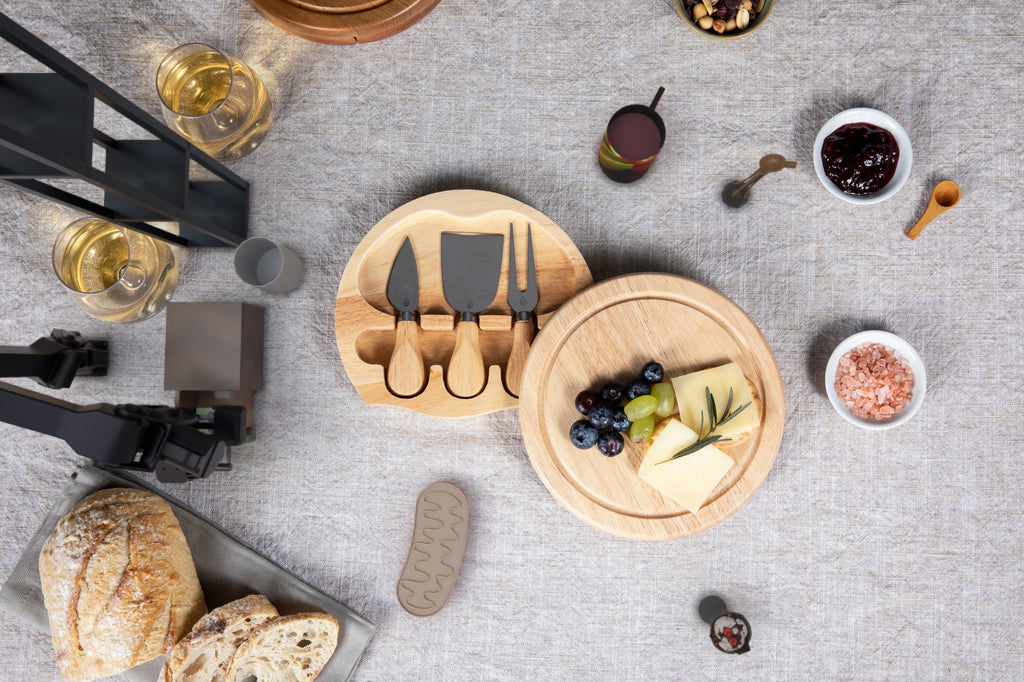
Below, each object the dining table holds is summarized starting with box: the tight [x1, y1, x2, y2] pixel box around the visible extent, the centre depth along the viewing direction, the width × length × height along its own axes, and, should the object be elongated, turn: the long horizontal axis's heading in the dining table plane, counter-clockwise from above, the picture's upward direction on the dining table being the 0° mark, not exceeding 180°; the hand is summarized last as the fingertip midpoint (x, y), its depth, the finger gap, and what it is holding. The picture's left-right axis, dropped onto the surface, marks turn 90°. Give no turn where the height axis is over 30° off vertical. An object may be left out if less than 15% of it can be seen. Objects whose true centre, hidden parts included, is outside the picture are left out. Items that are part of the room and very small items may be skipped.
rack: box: [0, 11, 250, 250], centre depth 87 cm, size 12×12×66 cm
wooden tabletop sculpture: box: [720, 153, 798, 209], centre depth 109 cm, size 6×5×20 cm
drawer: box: [174, 390, 257, 473], centre depth 114 cm, size 18×11×8 cm, turn 0°
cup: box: [232, 236, 305, 295], centre depth 115 cm, size 8×8×10 cm
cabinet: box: [163, 301, 265, 391], centre depth 114 cm, size 15×13×10 cm
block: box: [197, 406, 212, 434], centre depth 114 cm, size 4×4×4 cm
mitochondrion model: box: [395, 481, 470, 619], centre depth 114 cm, size 23×10×5 cm, turn 167°
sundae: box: [698, 595, 753, 656], centre depth 108 cm, size 7×7×15 cm
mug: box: [597, 85, 667, 184], centre depth 114 cm, size 10×14×12 cm
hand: (209, 420), depth 112 cm, fingers open, 6 cm apart
